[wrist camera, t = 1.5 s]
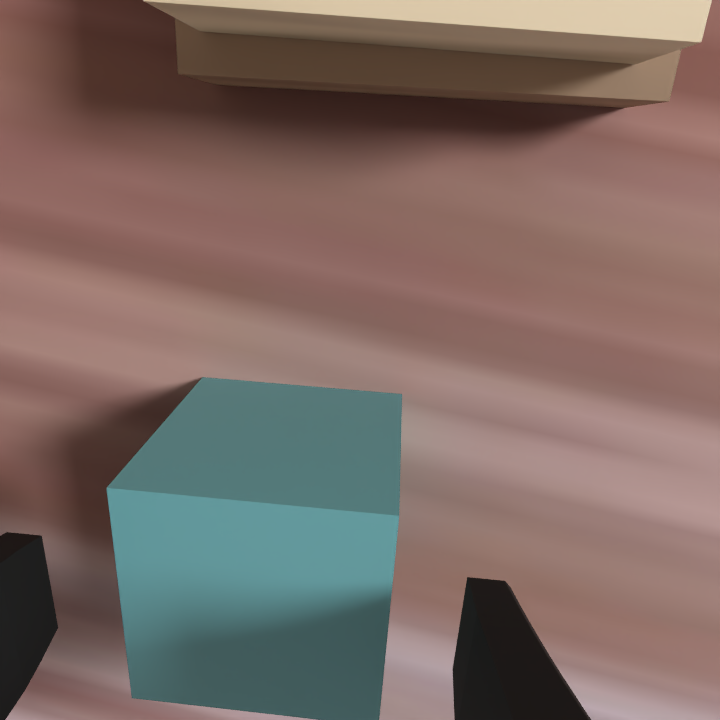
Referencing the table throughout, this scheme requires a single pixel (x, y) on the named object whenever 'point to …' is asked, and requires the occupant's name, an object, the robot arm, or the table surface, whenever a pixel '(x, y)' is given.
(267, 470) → the teal block
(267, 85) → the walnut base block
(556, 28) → the maple top block
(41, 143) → the table surface
